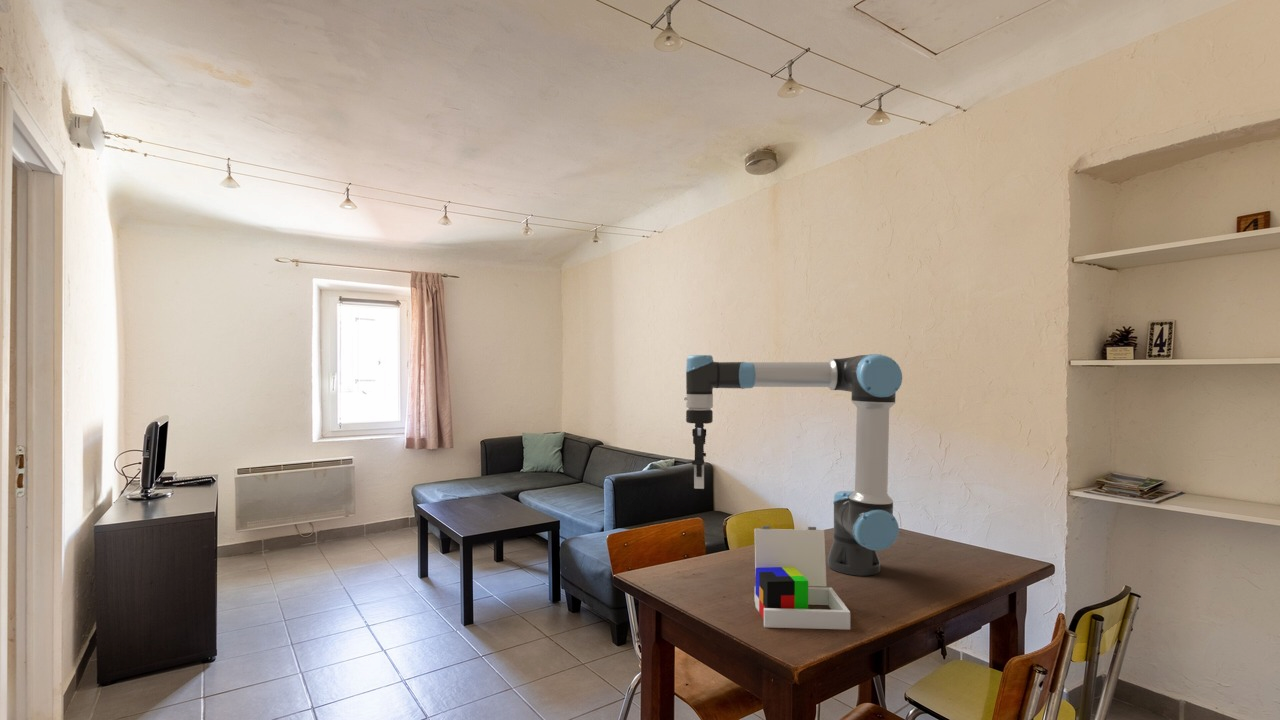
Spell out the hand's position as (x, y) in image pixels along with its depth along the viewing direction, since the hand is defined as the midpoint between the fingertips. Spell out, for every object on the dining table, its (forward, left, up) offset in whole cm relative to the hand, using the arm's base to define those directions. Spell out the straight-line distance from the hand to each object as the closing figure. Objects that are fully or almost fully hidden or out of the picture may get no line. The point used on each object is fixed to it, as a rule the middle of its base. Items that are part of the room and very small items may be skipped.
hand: (699, 483), depth 170 cm
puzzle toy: (-19, +22, -28) cm, 40 cm away
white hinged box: (-23, +22, -28) cm, 42 cm away
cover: (-23, +14, -16) cm, 31 cm away
